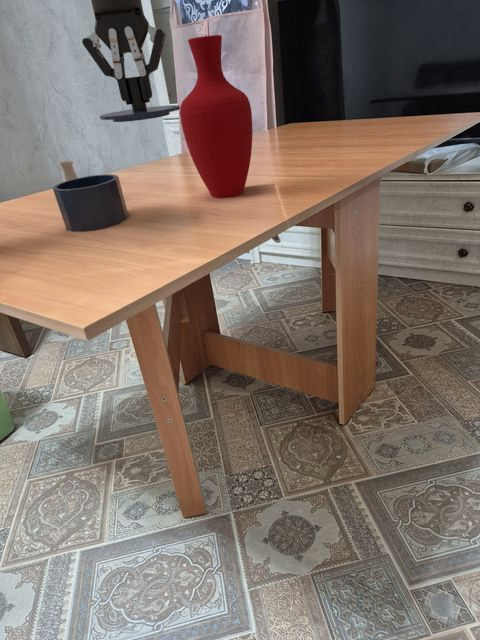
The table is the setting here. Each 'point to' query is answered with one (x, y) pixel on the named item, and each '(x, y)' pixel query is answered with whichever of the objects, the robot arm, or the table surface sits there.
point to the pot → (91, 202)
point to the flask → (67, 170)
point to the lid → (138, 106)
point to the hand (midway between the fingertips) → (138, 102)
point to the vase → (217, 123)
